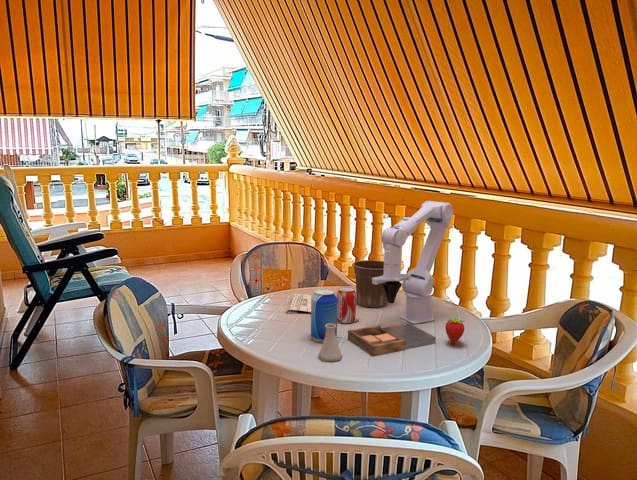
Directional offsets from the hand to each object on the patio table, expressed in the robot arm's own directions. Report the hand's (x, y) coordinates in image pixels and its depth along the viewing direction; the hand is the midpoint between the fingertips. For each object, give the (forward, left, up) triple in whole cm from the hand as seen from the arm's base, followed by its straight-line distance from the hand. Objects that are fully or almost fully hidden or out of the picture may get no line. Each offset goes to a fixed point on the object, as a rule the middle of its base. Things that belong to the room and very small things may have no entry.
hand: (390, 302), depth 175 cm
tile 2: (+9, +10, -10) cm, 17 cm away
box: (+12, +10, -9) cm, 18 cm away
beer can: (+25, -1, -10) cm, 27 cm away
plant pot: (-10, -27, -10) cm, 30 cm away
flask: (+30, +13, -10) cm, 34 cm away
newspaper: (+17, -37, -10) cm, 42 cm away
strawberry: (-11, +20, -10) cm, 25 cm away
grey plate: (0, +10, -9) cm, 14 cm away
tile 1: (+14, +10, -10) cm, 20 cm away
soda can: (+10, -13, -10) cm, 19 cm away
